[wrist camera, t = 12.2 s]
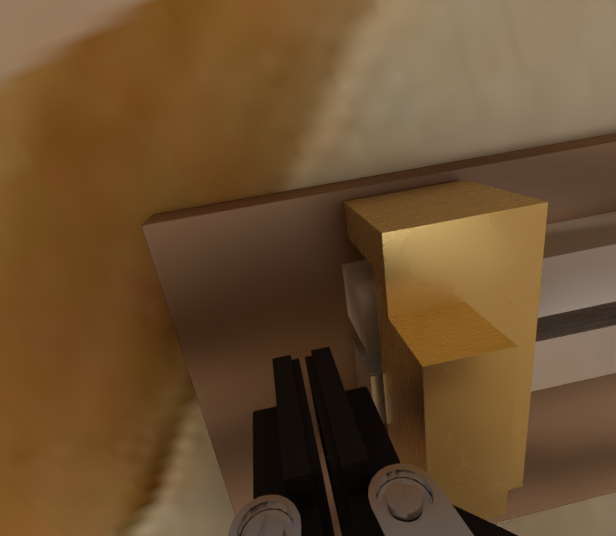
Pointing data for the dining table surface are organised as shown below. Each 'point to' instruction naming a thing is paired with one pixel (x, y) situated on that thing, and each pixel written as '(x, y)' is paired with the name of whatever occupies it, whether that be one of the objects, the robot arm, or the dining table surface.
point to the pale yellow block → (456, 329)
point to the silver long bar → (548, 352)
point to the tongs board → (300, 310)
